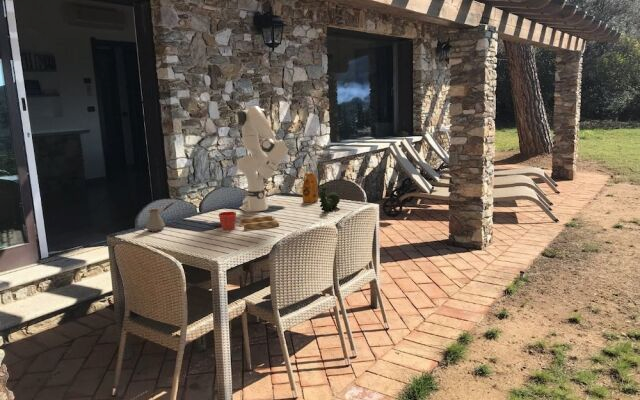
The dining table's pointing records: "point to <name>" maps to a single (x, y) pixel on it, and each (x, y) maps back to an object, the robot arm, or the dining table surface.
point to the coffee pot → (155, 220)
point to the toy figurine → (328, 200)
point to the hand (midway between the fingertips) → (257, 181)
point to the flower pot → (227, 220)
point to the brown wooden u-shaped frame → (259, 222)
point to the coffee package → (310, 188)
